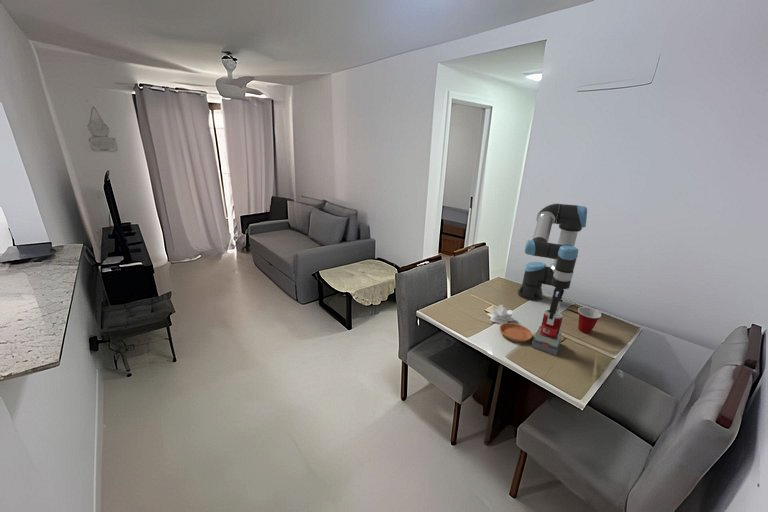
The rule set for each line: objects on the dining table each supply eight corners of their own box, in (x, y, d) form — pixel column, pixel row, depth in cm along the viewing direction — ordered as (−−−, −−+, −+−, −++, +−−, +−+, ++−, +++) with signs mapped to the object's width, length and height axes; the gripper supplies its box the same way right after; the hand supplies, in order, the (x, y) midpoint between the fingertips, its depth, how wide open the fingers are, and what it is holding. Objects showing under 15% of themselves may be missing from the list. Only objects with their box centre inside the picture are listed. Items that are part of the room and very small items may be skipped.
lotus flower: (489, 324, 170) (491, 310, 167) (484, 311, 184) (487, 298, 181) (515, 327, 168) (518, 313, 165) (509, 314, 182) (511, 301, 179)
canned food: (560, 338, 146) (565, 318, 143) (542, 336, 148) (547, 316, 144) (555, 330, 153) (559, 310, 150) (538, 327, 155) (542, 308, 151)
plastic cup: (570, 330, 166) (575, 311, 162) (575, 323, 174) (580, 304, 170) (594, 338, 159) (599, 318, 156) (597, 330, 167) (603, 311, 163)
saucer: (537, 343, 154) (539, 338, 153) (509, 345, 152) (510, 340, 151) (519, 326, 169) (520, 321, 168) (493, 328, 167) (494, 323, 166)
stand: (537, 335, 161) (539, 324, 158) (560, 343, 154) (563, 331, 152) (531, 346, 151) (534, 334, 148) (556, 355, 144) (559, 343, 142)
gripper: (557, 269, 153) (548, 306, 160) (547, 285, 134) (538, 326, 141) (574, 272, 148) (564, 310, 155) (567, 289, 129) (556, 332, 137)
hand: (552, 318), depth 148 cm, fingers open, 13 cm apart
